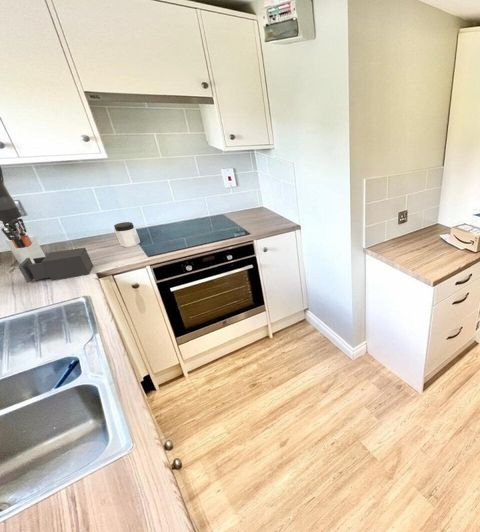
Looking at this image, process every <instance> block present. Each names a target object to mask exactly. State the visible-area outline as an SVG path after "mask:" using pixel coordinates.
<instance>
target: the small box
mask: <svg viewBox="0 0 480 532" xmlns="http://www.w3.org/2000/svg"><path fill="white" fill-rule="evenodd" d="M26 235H28V236H29V238H30V240H31V242H32V244H31V245H30V246H29V247H24V248H15V246H14V244H13V242H12V240H9V239H8V238H7V239H5V242H6V244H7V246H8V248H9V249H10V251H11V252H12V254H13V256H14V258H15V260H16V261H17V263H18V264H19V265H20V264H21V263H22V262H23V261H24V260H25V259H26V258H30V260H31V262H32V264H35V262H34V260H33V259H34V258H40V257H46V256H47V255H45V253H44V251H43V249H42V247H41V245H40V244H39V242H38V240H37V237H36V236H35V235H33V234H28V233H26Z"/></svg>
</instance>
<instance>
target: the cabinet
mask: <svg viewBox="0 0 480 532" xmlns="http://www.w3.org/2000/svg"><path fill="white" fill-rule="evenodd" d="M45 256H46V257H45V258H44V259H43V261H42V263H43V265H44V267H45V269H46V271H47V273H48V274H49V276H50V280H51V281H52V282H53V281H59V280H66V279H71V278H77V277H83V276H88V275H90V273H91V271H92V270H93V268H94V264H93V262H92V259H91V257H90V255H89V253H88V251H87V248H86V247H80V248H73V249H72V248H70V249H65V250H57V251H51V252H48V253H47V255H45ZM82 275H83V276H82Z"/></svg>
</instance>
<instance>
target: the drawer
mask: <svg viewBox="0 0 480 532" xmlns="http://www.w3.org/2000/svg"><path fill="white" fill-rule="evenodd" d="M44 258H45V257H40V258H34V259H33V260H34V262H35V263H33V264H32V262H31V260H30V258H26V259H25V260H24V261H23V262H22V263H21V264H19V266H11V267H10V268H9V269H8V270H7V271H5V275H6V276H11V274H18V273H21V274H22V276H23V278H24V279H25V281H26V283H27V284H29V283H32V282H33V281H34V280H35V281H37V280H43V279H49V278H50V276H49V274H48V273H47V271H46V269H45V267H44V265H43V263H42V261H43V259H44ZM50 279H51V278H50Z"/></svg>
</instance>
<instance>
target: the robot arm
mask: <svg viewBox="0 0 480 532" xmlns="http://www.w3.org/2000/svg"><path fill="white" fill-rule="evenodd" d="M21 217H22V213H21V211H20V208H19V207H18V206H17V204H16V202H15V200H14V199H13V197H12V196H11V194H10V193H9V191H8V189H7V186H6V185H5V179H4V173H3V169H2V165H0V222H2V226H3V227H2V228H1V232H2V233H3V234H4V235H5V237H6V238H7V239H9V240H14V242H15V244H16V246H17V247H18V248H24V247H25V244H24V242H23V241H22V239H21V236H25V235H26V234H27V232H28V231H27V228H26V225H25V223H24V220H23V218H21Z"/></svg>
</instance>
